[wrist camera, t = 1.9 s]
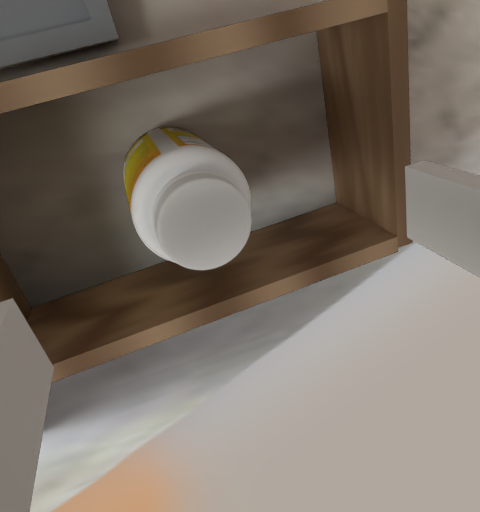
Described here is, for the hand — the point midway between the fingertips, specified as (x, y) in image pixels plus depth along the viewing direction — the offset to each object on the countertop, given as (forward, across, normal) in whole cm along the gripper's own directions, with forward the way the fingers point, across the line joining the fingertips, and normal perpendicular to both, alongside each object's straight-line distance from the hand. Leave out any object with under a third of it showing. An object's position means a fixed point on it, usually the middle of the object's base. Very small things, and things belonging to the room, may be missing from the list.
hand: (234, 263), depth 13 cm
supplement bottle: (+14, 0, 0) cm, 14 cm away
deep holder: (+14, 0, 0) cm, 14 cm away
